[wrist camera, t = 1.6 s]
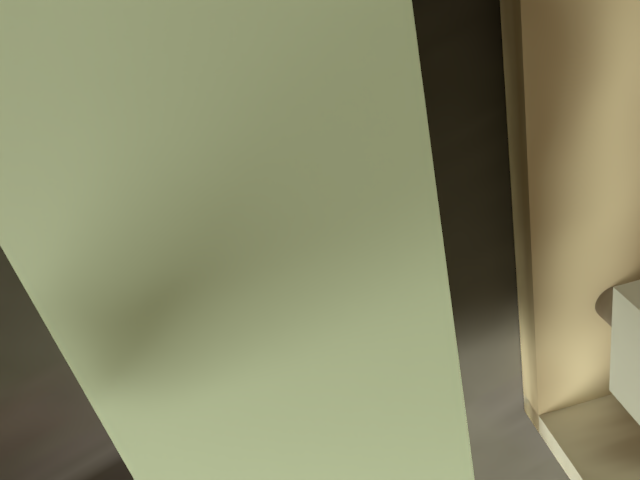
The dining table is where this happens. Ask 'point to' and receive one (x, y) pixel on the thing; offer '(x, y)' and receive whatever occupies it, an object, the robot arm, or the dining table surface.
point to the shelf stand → (574, 217)
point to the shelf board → (236, 233)
